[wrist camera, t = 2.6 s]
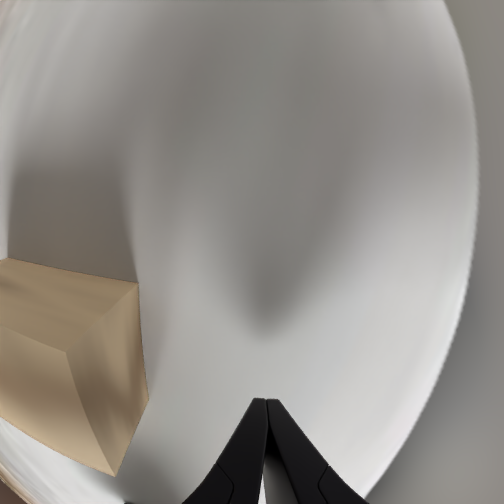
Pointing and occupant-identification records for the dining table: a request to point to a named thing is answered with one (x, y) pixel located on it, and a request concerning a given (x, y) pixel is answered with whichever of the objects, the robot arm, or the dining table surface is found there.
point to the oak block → (71, 361)
